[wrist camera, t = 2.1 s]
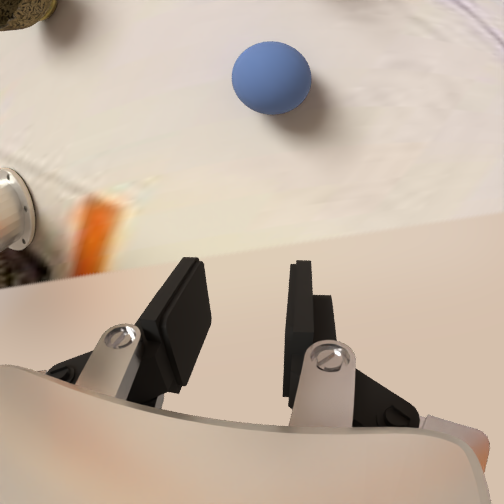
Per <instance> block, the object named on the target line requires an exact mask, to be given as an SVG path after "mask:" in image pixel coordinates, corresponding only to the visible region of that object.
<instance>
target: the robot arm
mask: <svg viewBox="0 0 504 504" xmlns="http://www.w3.org/2000/svg"><path fill="white" fill-rule="evenodd" d="M34 232H35V213H34V208H33V203H32V200H31V197H30V194H29V192H28V189H27V187H26V185H25V183H24V182H23V180H22V179H21V178H20V176H19V175H18V174H17V173H16V172H15V171H13V170H12V169H10V168H1V169H0V252H1V251H3V250H4V249H6V248H7V247H9V248H11V249H13V250H22V249H24V248H26V247H27V246H28V245H29V244H30V243H31V241H32V240H33V237H34ZM296 262H297V263H296V264H291V265H290V279H289V292H288V304H287V316H286V328H285V351H284V353H285V354H284V376H283V397H289V403H288V406H289V407H290V408H291V409H292V414H291V419H290V423H289V426H274V425H261V424H251V423H241V422H233V421H225V420H218V419H211V418H204V417H199V416H193V415H187V414H182V413H177V412H172V411H167V410H162V409H161V408H162V404H163V400H164V393H166V392H172V393H177V394H179V392H180V390H181V387H182V386H186V385H187V383H188V380H189V378H190V375H191V373H192V370H193V368H194V365H195V363H196V360H197V358H198V355H199V353H200V350H201V348H202V345H203V343H204V340H205V338H206V335H207V333H208V330H209V328H210V325H211V310H210V304H209V297H208V291H207V283H206V277H205V269H204V263H203V262H202V261H199V259H198V258H194V257H183V258H182V260H181V261H180V262H179V264H178V265H177V266H176V268H175V269H174V271H173V272H172V273H171V275H170V276H169V277H168V279H167V280H166V282H165V283H164V284H163V286H162V287H161V288H160V290H159V291H158V292H157V294H156V295H155V296H154V298H153V299H152V301H151V302H150V303H149V305H148V306H147V308H146V309H145V311H144V312H143V313H142V315H141V316H140V318H139V319H138V321H137V322H136V323H135V325H131V324H120V325H115V326H113V327H111V328H109V329H108V330H107V331H105V333H104V334H103V335H102V337H101V338H100V340H99V342H98V343H97V345H96V347H95V349H94V350H93V351H91V352H88V353H85V354H83V355H80V356H77V357H75V358H72V359H69V360H66V361H64V362H61V363H58V364H56V365H54V366H53V367H52V368H51V369H49V371H48V372H47V371H46V370H42V371H34V370H31V369H28V368H24V367H20V366H14V365H0V504H491V500H490V494H489V490H488V486H487V482H486V479H485V475H484V472H485V468H486V464H487V459H488V455H489V449H490V448H489V447H490V443H489V440H488V437H487V436H486V435H485V434H484V433H483V432H482V431H480V430H478V429H474V428H471V427H467V426H464V425H460V424H457V423H454V422H450V421H447V420H444V419H440V418H437V417H434V416H431V415H428V416H427V417H426V418H425V417H422V416H419V414H418V412H417V410H416V409H415V407H414V406H412V405H411V404H410V403H408V402H407V401H405V400H404V399H402V398H401V397H399V396H397V395H396V394H394V393H393V392H391V391H390V390H388V389H387V388H385V387H383V386H382V385H380V384H379V383H377V382H376V381H374V380H373V379H371V378H370V377H368V376H366V375H365V374H363V373H362V372H360V371H359V370H357V369H356V368H355V363H356V358H355V354H354V352H353V351H352V349H351V348H350V347H349V346H347V345H346V344H344V343H341V342H339V341H337V340H336V330H335V322H334V313H333V305H332V298H331V295H313V293H312V292H313V291H312V271H311V261H302V260H297V261H296Z"/></svg>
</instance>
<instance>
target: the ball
mask: <svg viewBox="0 0 504 504" xmlns="http://www.w3.org/2000/svg"><path fill="white" fill-rule="evenodd" d="M232 84H233V88H234V90H235V93H236V95H237V96H238V98H239V99H240V100H241V101H242V102H243V103H244V104H245V105H246V106H247V107H249V108H251V109H252V110H254V111H257V112H259V113H263V114H271V115H274V114H282V113H285V112H288V111H290V110H293V109H294V108H296V107H297V106H298V105H300V104H301V103H302V102H303V100H304V99H305V98H306V96H307V94H308V92H309V90H310V87H311V71H310V68H309V65H308V63H307V61H306V60H305V58H304V57H303V56H302V54H300V53H299V52H298V51H297V50H296V49H294V48H293V47H291V46H289V45H286V44H284V43H280V42H262V43H258V44H255V45H253V46H251V47H249V48H248V49H246V50H245V51H244V52H243V53H242V54H241V55H240V56H239V57H238V59H237V60H236V62H235V64H234V67H233V71H232Z"/></svg>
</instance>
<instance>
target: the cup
mask: <svg viewBox="0 0 504 504" xmlns="http://www.w3.org/2000/svg"><path fill="white" fill-rule="evenodd" d="M56 6H57V0H0V31H8V30H19V29H24V28H28V27H30V26H32V25H34V24H36V23H37V22H38V21H42V20H45V19H47V18H49V17H50V16H51V15H52V14H53V12H54V11H55V9H56Z"/></svg>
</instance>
